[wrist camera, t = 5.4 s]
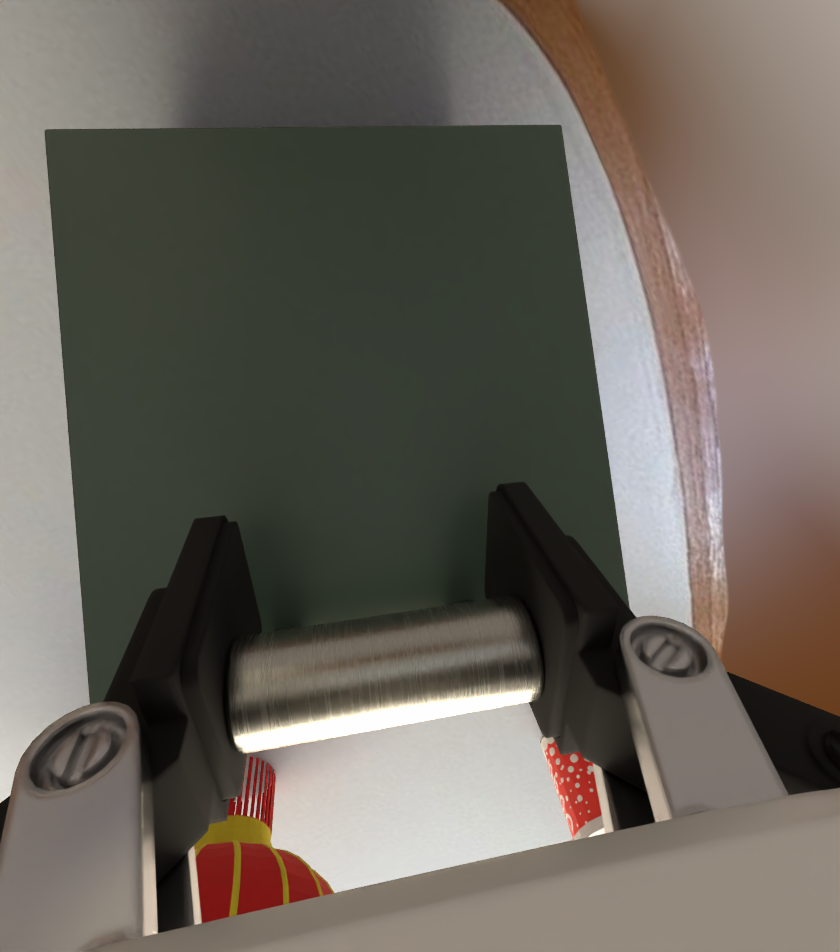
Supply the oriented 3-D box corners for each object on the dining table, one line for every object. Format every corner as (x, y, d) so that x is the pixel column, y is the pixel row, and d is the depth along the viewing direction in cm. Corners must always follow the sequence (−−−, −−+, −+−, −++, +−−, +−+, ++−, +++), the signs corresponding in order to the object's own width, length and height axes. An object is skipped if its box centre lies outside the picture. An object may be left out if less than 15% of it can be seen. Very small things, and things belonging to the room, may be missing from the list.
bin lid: (623, 668, 13) (774, 755, 9) (111, 760, 11) (-57, 933, 7) (550, 145, 14) (651, -42, 9) (62, 153, 12) (-119, -73, 8)
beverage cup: (538, 720, 45) (620, 910, 33) (601, 711, 46) (703, 893, 34) (528, 762, 48) (600, 952, 36) (587, 753, 49) (677, 934, 37)
